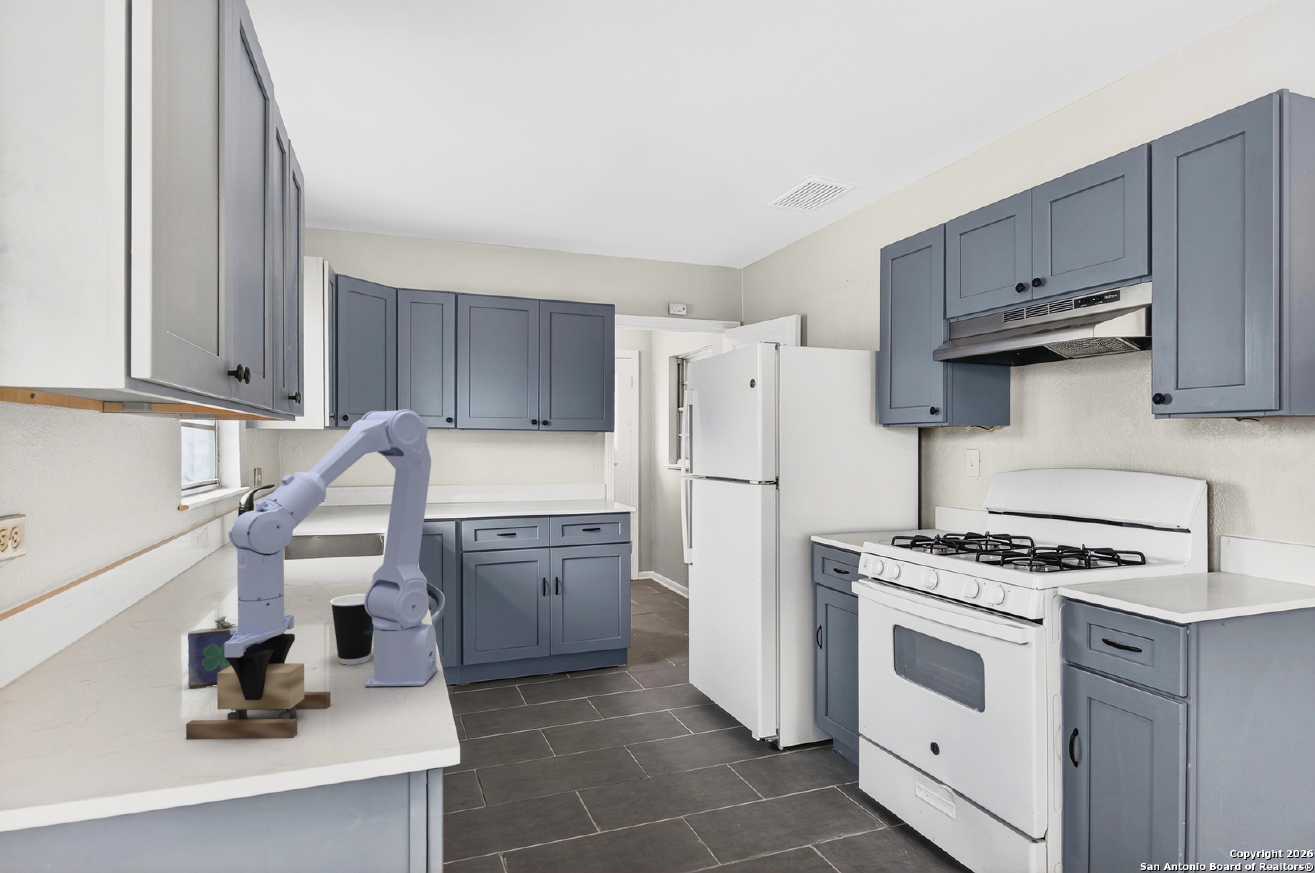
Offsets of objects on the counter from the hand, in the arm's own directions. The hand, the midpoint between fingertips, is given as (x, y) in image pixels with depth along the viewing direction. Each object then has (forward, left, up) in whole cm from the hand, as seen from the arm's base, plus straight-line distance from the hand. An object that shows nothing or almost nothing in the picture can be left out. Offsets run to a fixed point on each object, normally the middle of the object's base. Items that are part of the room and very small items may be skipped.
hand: (262, 693), depth 101 cm
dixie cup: (-2, -27, -4) cm, 27 cm away
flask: (+15, -16, -4) cm, 22 cm away
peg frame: (0, 0, -4) cm, 4 cm away
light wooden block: (0, 0, -1) cm, 1 cm away
